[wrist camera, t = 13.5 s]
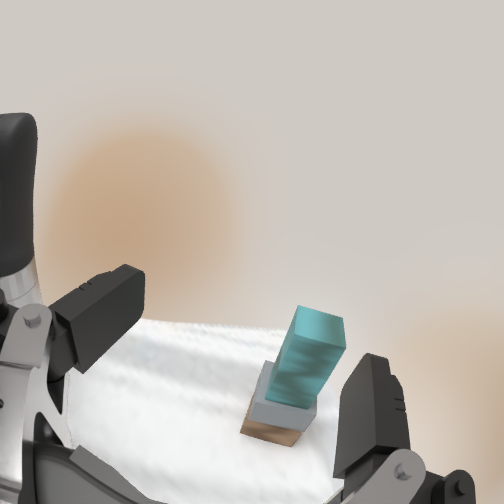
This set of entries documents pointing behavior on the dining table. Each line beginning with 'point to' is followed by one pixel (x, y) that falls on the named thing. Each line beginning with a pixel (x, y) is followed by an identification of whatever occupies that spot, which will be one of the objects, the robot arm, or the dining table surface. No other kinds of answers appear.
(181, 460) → the dining table surface
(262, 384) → the grey slab
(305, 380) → the teal pillar
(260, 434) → the walnut slab
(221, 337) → the dining table surface
